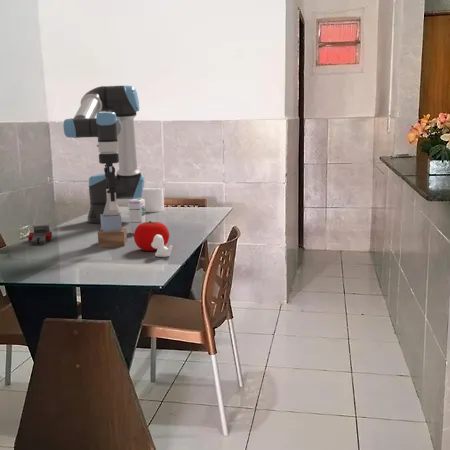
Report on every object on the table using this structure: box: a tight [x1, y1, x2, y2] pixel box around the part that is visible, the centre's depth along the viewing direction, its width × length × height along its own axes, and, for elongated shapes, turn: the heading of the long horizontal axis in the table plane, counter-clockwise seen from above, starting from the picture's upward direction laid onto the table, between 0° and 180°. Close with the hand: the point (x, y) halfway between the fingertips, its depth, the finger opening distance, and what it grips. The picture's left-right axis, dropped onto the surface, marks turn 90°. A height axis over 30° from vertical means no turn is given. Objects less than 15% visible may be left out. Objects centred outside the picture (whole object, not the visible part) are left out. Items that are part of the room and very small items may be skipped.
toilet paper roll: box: [141, 186, 165, 213], centre depth 303 cm, size 12×12×12 cm
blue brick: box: [100, 214, 123, 232], centre depth 220 cm, size 7×7×6 cm
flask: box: [103, 189, 122, 216], centre depth 219 cm, size 7×7×10 cm
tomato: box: [133, 220, 170, 252], centre depth 209 cm, size 12×13×11 cm
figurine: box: [151, 234, 173, 258], centre depth 198 cm, size 5×8×8 cm
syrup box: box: [127, 198, 147, 235], centre depth 243 cm, size 6×6×14 cm
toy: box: [27, 223, 53, 247], centre depth 229 cm, size 9×6×15 cm
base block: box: [97, 226, 128, 248], centre depth 222 cm, size 10×10×6 cm
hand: (111, 207), depth 219 cm, fingers open, 13 cm apart
